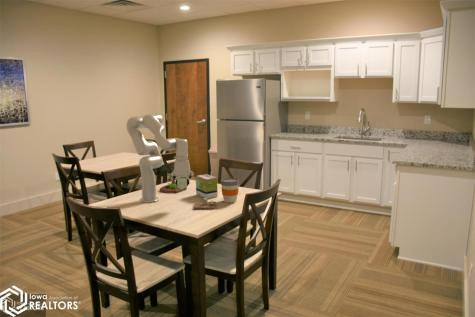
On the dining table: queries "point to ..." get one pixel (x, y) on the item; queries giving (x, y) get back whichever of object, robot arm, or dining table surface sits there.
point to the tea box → (206, 186)
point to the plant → (171, 187)
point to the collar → (182, 182)
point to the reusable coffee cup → (230, 189)
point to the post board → (204, 205)
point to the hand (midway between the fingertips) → (182, 185)
